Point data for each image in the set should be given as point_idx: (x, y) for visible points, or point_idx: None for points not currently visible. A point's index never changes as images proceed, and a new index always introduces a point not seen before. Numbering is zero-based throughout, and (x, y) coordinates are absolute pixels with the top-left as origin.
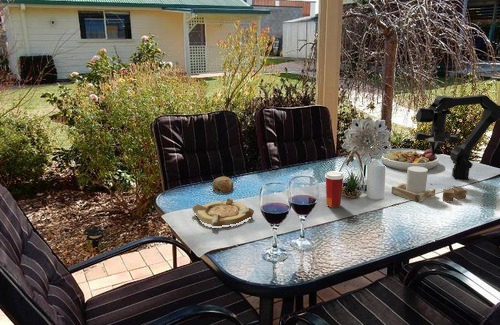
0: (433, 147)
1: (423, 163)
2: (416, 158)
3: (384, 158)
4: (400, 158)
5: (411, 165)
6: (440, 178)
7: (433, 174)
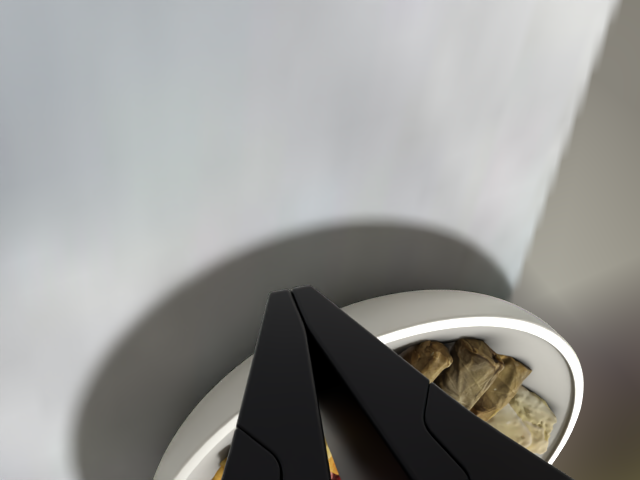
0: (417, 428)
1: None
2: None
3: (580, 367)
4: None
5: (408, 309)
6: (94, 161)
7: (178, 273)
